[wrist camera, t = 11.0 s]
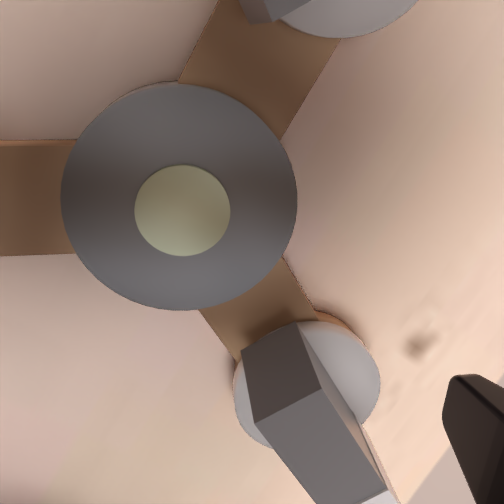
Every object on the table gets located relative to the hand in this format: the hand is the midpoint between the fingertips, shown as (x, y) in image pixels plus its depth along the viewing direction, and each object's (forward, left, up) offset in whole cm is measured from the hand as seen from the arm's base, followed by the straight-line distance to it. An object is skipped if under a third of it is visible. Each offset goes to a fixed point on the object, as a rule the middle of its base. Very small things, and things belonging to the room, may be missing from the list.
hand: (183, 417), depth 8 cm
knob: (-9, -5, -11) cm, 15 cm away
